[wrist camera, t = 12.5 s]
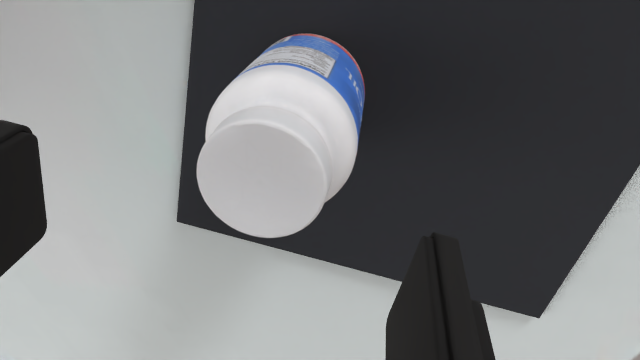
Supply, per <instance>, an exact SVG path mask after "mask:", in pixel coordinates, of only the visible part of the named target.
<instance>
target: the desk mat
mask: <svg viewBox="0 0 640 360" xmlns="http://www.w3.org/2000/svg"><path fill="white" fill-rule="evenodd" d="M295 34H316V35H320V36H324V37H326V38H329V39H331V40H333V41H335V42H337V43H338V44H340V45H341V46H342V47H344V48H345V49H346V50H347V51H348V52H349V53H350V54H351V55H352V57H353V58H354V59H355V61H356V62H357V64H358V66H359V68H360V70H361V73H362V76H363V80H364V86H365V100H364V107H363V113H362V121H361V128H360V134H359V141H358V149H357V155H356V158H355V162H354V166H353V169H352V171H351V174H350V176H349V178H348V179H347V181H346V183H345V184H344V185H343V186H342V188H341V189H340V190H339V191H338V192H337V193H336V194H335V195H334V196H333V197H332V198H331V199H329V200H328V201H326V202H325V203H324V205H323V207H322V209H321V211H320V213H319V214H318V215H317V217H316V218H315V219H314V220H313V221H312V222H311V223H310V224H309V225H308V226H306V227H305V228H304V229H302V230H300V231H298V232H296V233H294V234H291V235H288V236H283V237H276V238H264V237H256V236H252V235H248V234H245V233H242V232H240V231H238V230H236V229H234V228H232V227H230V226H229V225H227V224H226V223H224V222H223V221H222V220H221V219H220V218H218V217H217V216H216V215H215V214H214V213H213V212H212V210H211V209H210V208H209V206H208V205H207V204H206V202H205V200H204V198H203V197H202V194H201V192H200V189H199V185H198V181H197V161H198V158H199V154H200V152H201V149H202V147H203V146H204V144H205V142H206V138H205V135H206V125H207V120H208V116H209V113H210V111H211V108H212V107H213V105H214V103H215V101H216V100H217V98H218V97H219V95H220V94H221V93H222V92H223V90H224V89H225V88H226V87H227V86H228V85H229V84H230V83H231V82H232V81H233V80H234V79H235V78H236V77H237V76H238V75H239V74H240V73H241V72H242V71H243V70H245V69H246V68H247V67H248V66H249V65H250V64H251V63H252V62H253V61H254V60H255V59H257V58H258V57H259V56H260V55H261V54H262V53H263V52H264V51H265V50H266V49H267V48H269V47H270V46H271V45H272V44H274V43H276V42H277V41H279V40H281V39H283V38H285V37H288V36H291V35H295ZM639 165H640V0H195V4H194V16H193V29H192V41H191V53H190V66H189V78H188V90H187V103H186V115H185V127H184V140H183V152H182V164H181V177H180V189H179V201H178V213H177V222H181V223H184V224H188V225H192V226H196V227H199V228H203V229H207V230H211V231H214V232H218V233H222V234H226V235H229V236H233V237H237V238H241V239H244V240H248V241H252V242H255V243H259V244H263V245H267V246H270V247H274V248H278V249H282V250H285V251H289V252H293V253H297V254H300V255H304V256H308V257H312V258H315V259H319V260H323V261H327V262H330V263H334V264H338V265H342V266H345V267H349V268H353V269H357V270H360V271H364V272H368V273H372V274H375V275H379V276H383V277H387V278H390V279H394V280H398V281H402V282H403V280H404V277H405V275H406V273H407V270H408V268H409V266H410V263H411V261H412V258H413V256H414V254H415V251H416V249H417V247H418V244H419V242H420V240H421V238H422V237H423V236H426V237H430V235H431V234H432V233H433V232H435V233H439V234H443V235H447V236H451V237H454V238H457V239H458V241H459V246H460V250H461V255H462V260H463V265H464V269H465V274H466V279H467V284H468V288H469V293H470V298H471V299H472V300H476V301H479V302H480V303H484V304H488V305H491V306H495V307H499V308H503V309H506V310H510V311H514V312H518V313H521V314H525V315H529V316H533V317H536V318H540V316H541V315H542V313H543V312H544V310H545V309H546V307H547V306H548V304H549V303H550V301H551V300H552V298H553V296H554V295H555V293H556V292H557V290H558V289H559V287H560V286H561V284H562V283H563V281H564V280H565V278H566V277H567V275H568V274H569V272H570V270H571V269H572V267H573V266H574V264H575V263H576V261H577V260H578V258H579V257H580V255H581V254H582V252H583V251H584V249H585V248H586V246H587V245H588V243H589V241H590V240H591V238H592V237H593V235H594V234H595V232H596V231H597V229H598V228H599V226H600V225H601V223H602V222H603V220H604V219H605V217H606V215H607V214H608V212H609V211H610V209H611V208H612V206H613V205H614V203H615V202H616V200H617V199H618V197H619V196H620V194H621V193H622V191H623V190H624V188H625V186H626V185H627V183H628V182H629V180H630V179H631V177H632V176H633V174H634V173H635V171H636V170H637V168H638V167H639Z"/></svg>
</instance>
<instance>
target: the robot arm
mask: <svg viewBox="0 0 640 360" xmlns="http://www.w3.org/2000/svg"><path fill="white" fill-rule="evenodd" d="M46 228H47V220H46V211H45V202H44V193H43V184H42V175H41V166H40V157H39V148H38V140H37V137H36V136H35V135H33V134H32V131H31V130H30V128H28V127H27V126H23V125H20V124H16V123H12V122H8V121H4V120H0V277H1V276H2V275H3V274H4V273H5V272H6V271H7V270H8V269H9V268H10V267H12V266H13V265H14V264H15V263H16V262H17V261H18V260H19V259H20V258H21V257H22V256H23V255H24V254H25V253H27V252H28V251H29V250H30V249H31V248H32V247H33V246H34V245H35V244H36V243H37V242H38V241H39V240H40V239H41V238H42V237H43V236H44V234H45V231H46ZM386 360H495V356H494V352H493V348H492V343H491V339H490V335H489V331H488V326H487V322H486V318H485V314H484V310H483V307H482V304H481V303H480V302H479V301H476V300H472V299H471V298H470V293H469V288H468V284H467V279H466V274H465V269H464V265H463V260H462V255H461V250H460V246H459V241H458V239H457V238H454V237H451V236H447V235H443V234H439V233H435V232H433V233H432V234H431V235H430V237H426V236H423V237H422V238H421V240H420V242H419V244H418V247H417V249H416V251H415V254H414V256H413V258H412V261H411V263H410V266H409V268H408V270H407V273H406V275H405V277H404V280H403V282H402V284H401V287H400V289H399V291H398V294H397V296H396V298H395V301H394V303H393V305H392V308H391V310H390V312H389V315H388V319H387V324H386Z"/></svg>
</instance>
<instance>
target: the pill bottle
mask: <svg viewBox="0 0 640 360" xmlns="http://www.w3.org/2000/svg"><path fill="white" fill-rule="evenodd" d="M364 100H365V86H364V80H363V76H362V73H361V70H360V68H359V66H358V64H357V62H356V61H355V59H354V58H353V57H352V55H351V54H350V53H349V52H348V51H347V50H346V49H345V48H344V47H342V46H341V45H340V44H338V43H337V42H335V41H333V40H331V39H329V38H326V37H324V36H320V35H316V34H295V35H291V36H288V37H285V38H283V39H281V40H279V41H277V42H276V43H274V44H272V45H271V46H270V47H269V48H267V49H266V50H265V51H264V52H263V53H262V54H261V55H260V56H259V57H258V58H257V59H255V60H254V61H253V62H252V63H251V64H250V65H249V66H248V67H247V68H246V69H245V70H243V71H242V72H241V73H240V74H239V75H238V76H237V77H236V78H235V79H234V80H233V81H232V82H231V83H230V84H229V85H228V86H227V87H226V88H225V89H224V90H223V92H222V93H221V94H220V95H219V97H218V98H217V100H216V101H215V103H214V105H213V107H212V108H211V111H210V113H209V116H208V120H207V125H206V135H205V138H206V142H205V144H204V146H203V147H202V149H201V152H200V154H199V158H198V161H197V181H198V185H199V189H200V192H201V194H202V197H203V198H204V200H205V202H206V204H207V205H208V206H209V208H210V209H211V210H212V212H213V213H214V214H215V215H216V216H217V217H218V218H220V219H221V220H222V221H223V222H224V223H226V224H227V225H229V226H230V227H232V228H234V229H236V230H238V231H240V232H242V233H245V234H248V235H252V236H256V237H264V238H276V237H283V236H288V235H291V234H294V233H296V232H298V231H300V230H302V229H304V228H305V227H306V226H308V225H309V224H310V223H311V222H312V221H313V220H314V219H315V218H316V217H317V215H318V214H319V213H320V211H321V209H322V207H323V205H324V203H325V202H326V201H328V200H329V199H331V198H332V197H333V196H334V195H335V194H336V193H337V192H338V191H339V190H340V189H341V188H342V186H343V185H344V184H345V183H346V181H347V179H348V178H349V176H350V174H351V171H352V169H353V166H354V162H355V158H356V155H357V149H358V141H359V134H360V128H361V121H362V113H363V107H364Z"/></svg>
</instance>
